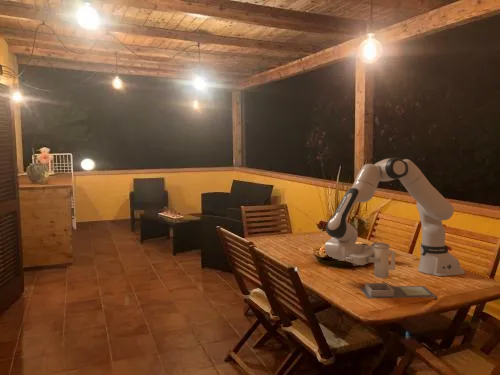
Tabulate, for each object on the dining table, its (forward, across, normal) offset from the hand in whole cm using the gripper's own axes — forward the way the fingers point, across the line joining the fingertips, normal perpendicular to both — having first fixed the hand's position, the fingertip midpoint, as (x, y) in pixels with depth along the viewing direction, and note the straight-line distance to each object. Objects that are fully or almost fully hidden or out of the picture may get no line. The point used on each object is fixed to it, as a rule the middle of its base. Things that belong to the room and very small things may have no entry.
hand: (383, 258), depth 188 cm
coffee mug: (-28, +48, +17) cm, 58 cm away
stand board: (+4, +5, +17) cm, 18 cm away
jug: (0, 0, +8) cm, 8 cm away
